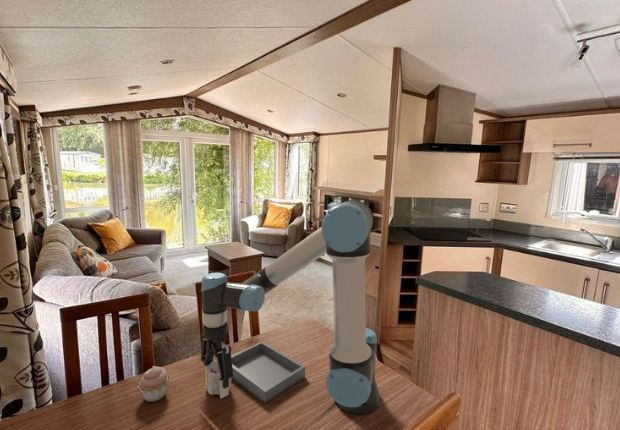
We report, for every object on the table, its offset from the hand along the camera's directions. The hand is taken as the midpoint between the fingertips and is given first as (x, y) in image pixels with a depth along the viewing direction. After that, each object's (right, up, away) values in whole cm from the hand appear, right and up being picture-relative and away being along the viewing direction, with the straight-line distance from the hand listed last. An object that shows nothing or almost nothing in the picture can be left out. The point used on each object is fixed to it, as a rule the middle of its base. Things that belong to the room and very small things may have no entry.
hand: (216, 389), depth 101 cm
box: (+13, 0, +11) cm, 17 cm away
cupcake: (-19, -1, -1) cm, 19 cm away
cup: (+1, -1, 0) cm, 1 cm away
